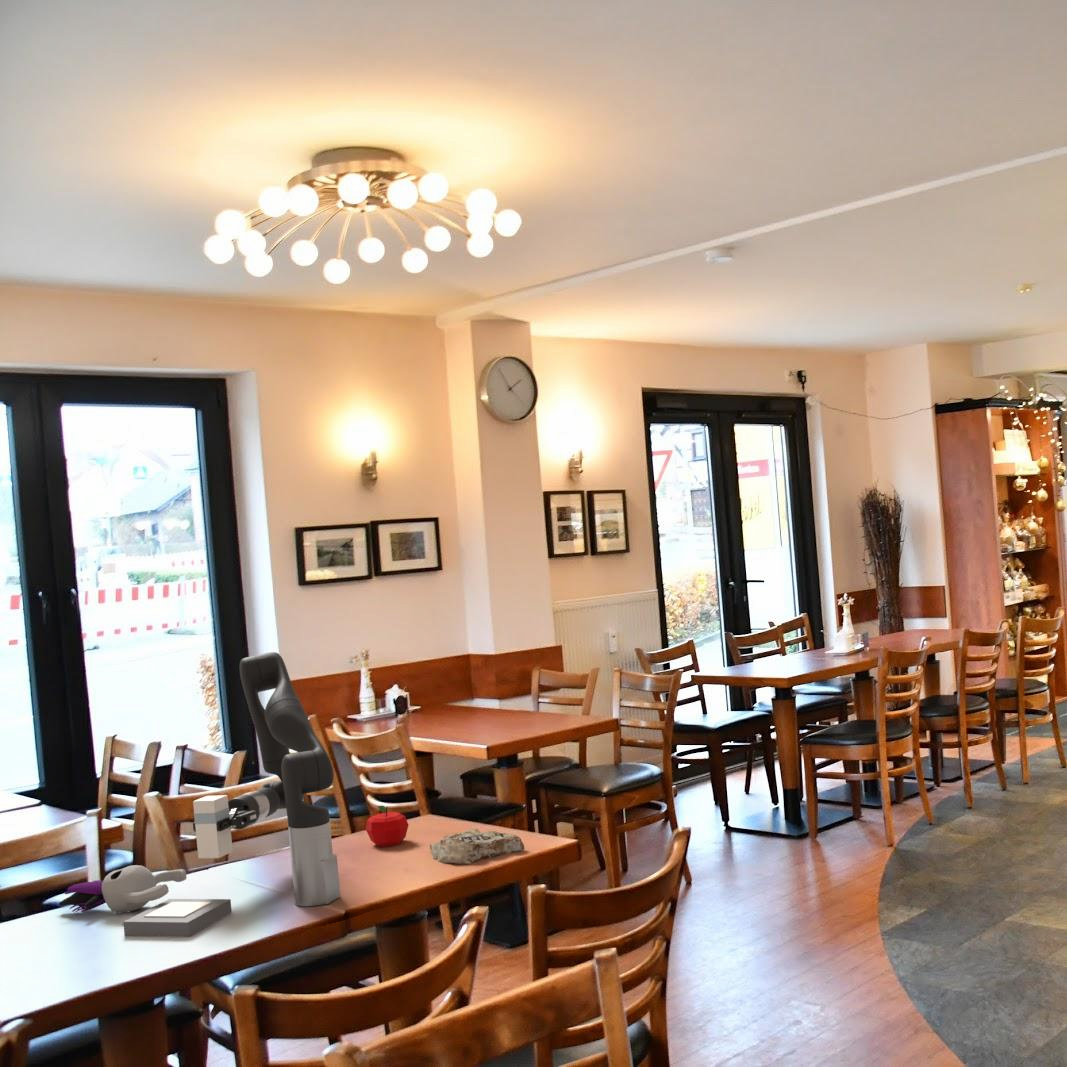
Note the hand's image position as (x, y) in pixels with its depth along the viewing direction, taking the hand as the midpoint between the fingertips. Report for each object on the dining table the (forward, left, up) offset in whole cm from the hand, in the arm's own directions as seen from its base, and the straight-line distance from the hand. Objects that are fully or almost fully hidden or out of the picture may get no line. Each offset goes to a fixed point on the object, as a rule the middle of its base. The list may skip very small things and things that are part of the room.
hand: (206, 826), depth 272 cm
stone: (-44, -45, -19) cm, 65 cm away
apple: (-18, -54, -18) cm, 60 cm away
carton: (0, -3, -7) cm, 7 cm away
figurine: (+22, +4, -18) cm, 29 cm away
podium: (0, +13, -18) cm, 22 cm away
